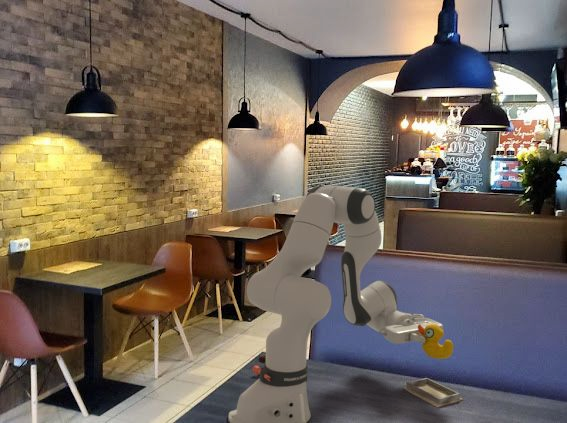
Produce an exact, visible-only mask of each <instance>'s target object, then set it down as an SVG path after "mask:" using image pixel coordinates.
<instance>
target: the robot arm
mask: <svg viewBox="0 0 567 423" xmlns="http://www.w3.org/2000/svg"><path fill="white" fill-rule="evenodd" d="M334 223H335V224H341V225H342V226H343V230H344V235H345V244H344V250H343V253H342V255H341V259H340V262H341V263H340V267H341V278H342V279H341V280H342V291H343V302H342V304H343V306H342V312H343V315H344V317H345V319H346V321H347V322H348V323H349V324H351V325H353V326H356V327H365V326H366V325H367V326H368V327H370V328H371V329H372V330H374V331H376V332H378V333H379V334H380V335H382V336H384V339H385V340H387V341H389V342H390V343H391V344H394V345H395V344H396V345H401V344H406V343H413V342H415V343H416V342H417V343H421V344H422V343H426V342H427V337H425V335H422V334H421V333H420V332H419V330H418V325H419V324H420V325H421V326H422V327H423V328H425V327H426V326H427V325H430V324H436V325H438V326H439V327H440V328H441V329H442V330H443V331H444V325H443V323H440V322H439V321H436V320H434V319H431V318H429V317H425V315H423V314H420V313H407V312H402V311H400V310H397V309H398V297H397V293H396V290H395V288H394V287H393V286H391V285H390V284H389V283H388V282H386V281H383V280H375V281H374V282H372V283H370V284H369V285H367V286H366V287H365V288H363V289H361V281H360V280H361V278H360V277H361V273H362V270H363V268H364V267H365V266H366V264H367V263H368V261H369V260H370V259H371V258H372V257H373V256H374V255H375V254H376V253H378V250H379V248H380V247H381V243H382V231H381V226H380V222H379V218H378V215H377V212H376V201H375V198H374V196H373V195H372V193H371V192H370V191H369V190H367V189H365V188H362V187H352V186H351V187H350V186H343V185H318V186H314V187H312V188H311V189H310V190H309V191H308V193H306V196H305V198H304V199H303V201H302V203H301V204H300V206H299V208H298V210H297V212H296V214H295V216H294V218H293V222H292V224H291V227H290V229H289V232H288V234H287V236H286V239H285V241H284V243H283V245H282V248H281V249H280V251H279V253H278V254H277V255H276V256H275V257H274V258H273V260H272V261H271V262H270V263H269V264H268V265H267V266H266V267H264V268H263V269H261V270H260V271H257V272H255V273H254V274H252V275H251V277H250V278H249V279H248V282H247V285H246V296H247V299H248V301H249V303H251V305H253V306H254V307H257V308H259V309H260V310H262V311H265V312H269V313H273V314H277V315H280V316H281V322H280V326H279V327H277V328H275V329H273V330H272V331H271V332H269V333H268V335H267V336H266V339H265V340H266V341H265V356H266V363H265V364H264V363H263V364H264V365H263V366H262V367H260V366H259V365H253V367H252V372H253V373H254V374H255V375H257V376H258V375H259V376H258V378H257V380H256V381H254V382H253V384H251V385H250V386H249V387H248V388H247V389H245V390H244V391H243V392H242V393H241V394H240V395H239V397H238V400H237V405H236V409H234V410H231V411H229V412H228V422H229V423H307V422H308V421H310V419H311V411H310V407H309V402H308V393H307V382H308V364H307V354H308V353H307V352H308V350H307V349H308V342H309V341H308V340H309V336H310V333H311V331H312V329H313V328H314V326H315V325H316V324H317V323H318V322H320V321H321V320H322V319H324V318H325V317H326V315H327V314H328V313H329V311H330V309H331V305H332V296H331V292H330V289H329V287H328V286H327V285H326V284H324V283H321V282H319V281H317V280H314V279H313V278H310V277H303V276H302V275H303V274H304V273H305V272H306V271H307V270H310V269H311V268H314V267H315V266H317V265H319V264H320V263H321V261H322V260H323V257H324V254H325V251H326V248H327V247H328V246H327V245H328V243H329V239H330V237H331V233H332V230H333V228H334V227H333V226H334ZM261 368H263V369H261Z"/></svg>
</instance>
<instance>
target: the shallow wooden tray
mask: <svg viewBox="0 0 567 423" xmlns="http://www.w3.org/2000/svg"><path fill="white" fill-rule="evenodd" d="M402 388H403V390H405V391H407V392H408V393H410V394H412V395H414V396H416V397H417V398H420V399H421V400H423V401H425V402H427V403H429V404H430V405H432V406H435V407H436V408H439V407H443V406H446V405H451V404H454V403H457V402H462V401H463V400H464V399H463V398H462V397H461V393H459V392H457V391H456V390H454V389H452V388H450V387H446V385H443V384H441V383H438V382H436V381H435V380H433V379H430V378H428V377H425V378H421V379H417V380H412V381H408V382H406V386H405V387H404V386H403V387H402Z"/></svg>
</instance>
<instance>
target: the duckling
mask: <svg viewBox="0 0 567 423" xmlns="http://www.w3.org/2000/svg"><path fill="white" fill-rule="evenodd" d="M418 330H419V332H420V333H421V334H422V335H425V337H427V342H426V343H421V345H422V346H421V348H422V350H423V352H424V353H425V355H427V357H430V358H432V359H437V360H445V359H448V358H450V357H451V356H452V354H453V352H454V343H453V342H452V340H450V339H445V341H444V342H443V344H440V343H439V341H440V340H441V339H442V338H443V337H444V335H445V332H444V329H443V330H442V329H441V328H440V327H439V326H438V325H436V324H430V325H427V326H426V327H425V328H423V327H422V326H421V325H420V324H419V325H418Z"/></svg>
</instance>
